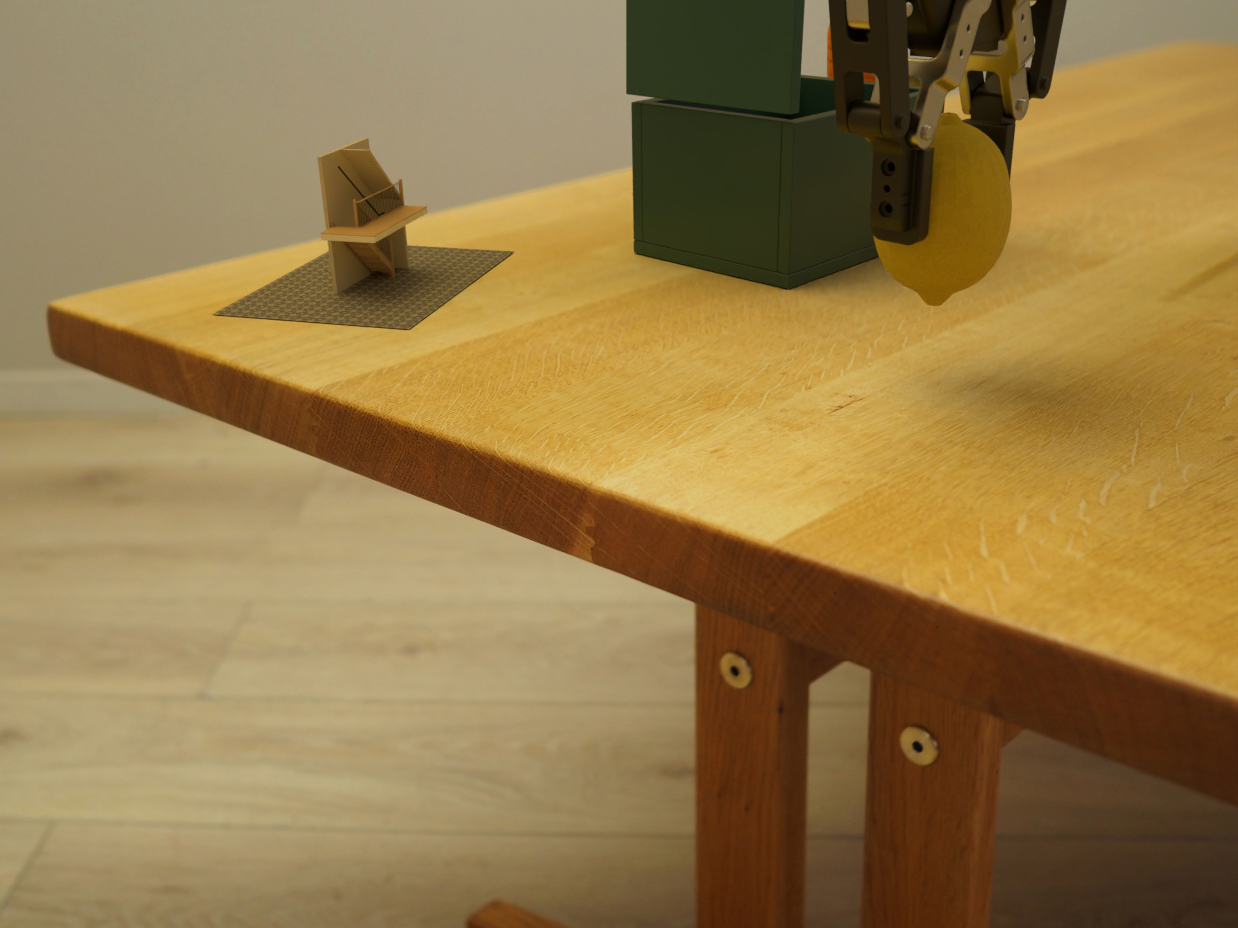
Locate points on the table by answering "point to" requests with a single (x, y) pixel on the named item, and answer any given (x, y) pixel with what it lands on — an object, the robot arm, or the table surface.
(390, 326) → the architectural model
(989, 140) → the lemon
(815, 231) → the bin
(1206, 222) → the table surface
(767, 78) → the bin lid
